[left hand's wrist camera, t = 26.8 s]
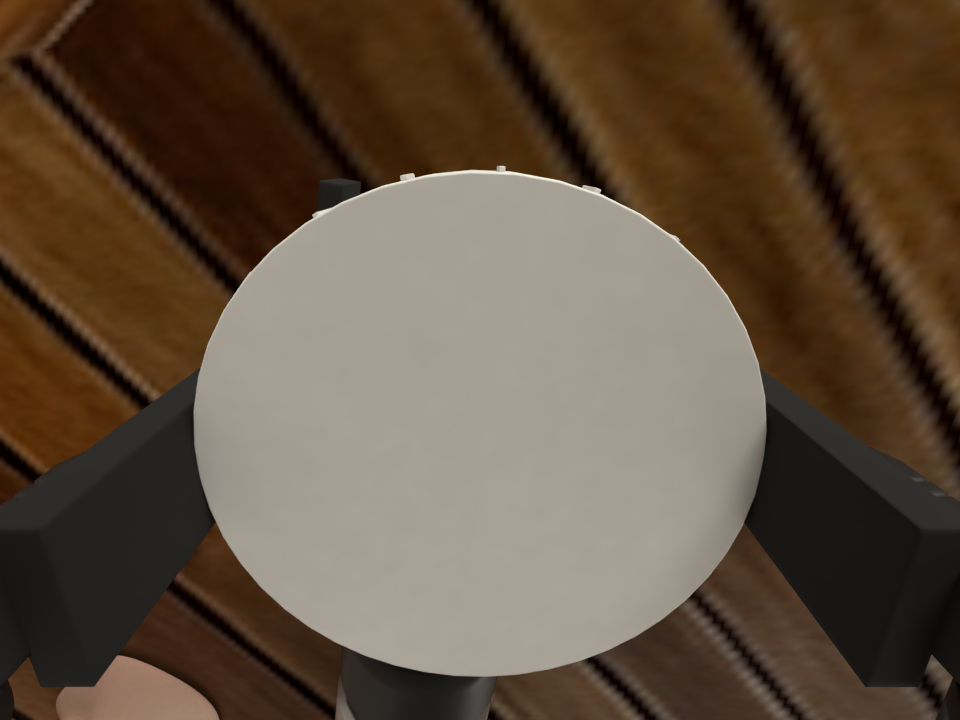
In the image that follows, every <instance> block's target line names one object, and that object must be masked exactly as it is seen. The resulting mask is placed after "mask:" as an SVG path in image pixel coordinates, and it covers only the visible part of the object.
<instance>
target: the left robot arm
mask: <svg viewBox="0 0 960 720" xmlns="http://www.w3.org/2000/svg"><path fill="white" fill-rule="evenodd" d="M200 369H201V368H199V369H198V370H197V371H195V372H194V373H192V374H191V375H190V376H188V377H187V378H186V379H184V380H183V381H181V382H180V383H179V384H177V385H176V386H175V387H173V388H172V389H170V390H169V391H168V392H166V393H165V394H164V395H162V396H161V397H159V398H158V399H157V400H155V401H154V402H153V403H151V404H150V405H148V406H147V407H146V408H144V409H143V410H142V411H140V412H139V413H137V414H136V415H135V416H133V417H132V418H131V419H129V420H128V421H126V422H125V423H124V424H122V425H121V426H120V427H118V428H117V429H115V430H114V431H113V432H111V433H110V434H109V435H107V436H106V437H105V438H103V439H102V440H100V441H99V442H98V443H96V444H95V445H94V446H92V447H91V448H89V449H88V450H87V451H85V452H83V453H81V454H78V455H76V456H74V457H72V458H70V459H68V460H66V461H63V462H61V463H59V464H57V465H56V466H55V467H53V468H52V469H50V470H49V471H48V472H46V473H45V474H43V475H42V476H40V477H39V478H38V479H36V480H35V481H34V484H29V485H28V486H26V487H25V488H24V489H22V490H21V491H19V492H18V493H17V494H15V495H14V499H8V500H7V501H5V502H4V503H2V504H1V505H0V720H11V719H12V713H13V708H14V698H13V692H12V689H11V687H10V684H9V682H8V680H7V679H8V678H9V677H10V676H11V675H12V674H13V673H14V672H15V671H16V670H17V669H18V667H19V666H20V665H21V664H22V663H23V662H24V661H25V660H26V659H27V658H28V657H29V658H30V660H31V663H32V665H33V668H34V670H35V673H36V675H37V678H38V680H39V683H40V686H41V687H94V686H95V685H96V684H97V682H98V681H99V680H100V678H101V677H102V676H103V674H104V673H105V671H106V670H107V669H108V667H109V666H110V665H111V663H112V662H113V661H114V659H115V658H116V657H117V655H118V654H119V652H120V651H121V650H122V648H123V647H124V646H125V644H126V643H127V642H128V640H129V639H130V638H131V636H132V635H133V634H134V632H135V631H136V629H137V628H138V627H139V625H140V624H141V623H142V621H143V620H144V619H145V617H146V616H147V615H148V613H149V612H150V610H151V609H152V608H153V606H154V605H155V604H156V602H157V601H158V600H159V598H160V597H161V596H162V594H163V593H164V591H165V590H166V589H167V587H168V586H169V585H170V583H171V582H172V581H173V579H174V578H175V577H176V575H177V574H178V573H179V571H180V570H181V568H182V567H183V566H184V564H185V563H186V562H187V560H188V559H189V558H190V556H191V555H192V554H193V552H194V551H195V549H196V548H197V547H198V545H199V544H200V543H201V541H202V540H203V539H204V537H205V536H206V535H207V533H208V532H209V531H210V529H211V528H212V526H213V525H214V524H215V522H216V521H215V519H214V517H213V515H212V513H211V511H210V508H209V505H208V502H207V499H206V496H205V493H204V490H203V487H202V484H201V480H200V475H199V470H198V465H197V459H196V453H195V448H194V404H195V397H196V389H197V382H198V376H199V373H200ZM759 369H760V368H759ZM760 374H761V379H762V384H763V389H764V394H765V404H766V427H767V433H766V443H765V452H764V458H763V463H762V468H761V472H760V477H759V481H758V486H757V490H756V494H755V497H754V499H753V502H752V504H751V507H750V509H749V512H748V514H747V516H746V519H745V521H744V523H745V524H746V526H747V527H748V528H749V530H750V531H751V532H752V534H753V535H754V536H755V538H756V539H757V540H758V542H759V543H760V545H761V546H762V547H763V549H764V550H765V551H766V553H767V554H768V555H769V557H770V558H771V559H772V561H773V562H774V563H775V565H776V566H777V568H778V569H779V570H780V572H781V573H782V574H783V576H784V577H785V578H786V580H787V581H788V582H789V584H790V585H791V587H792V588H793V589H794V591H795V592H796V593H797V595H798V596H799V597H800V599H801V600H802V601H803V603H804V604H805V605H806V607H807V608H808V610H809V611H810V612H811V614H812V615H813V616H814V618H815V619H816V620H817V622H818V623H819V624H820V626H821V627H822V629H823V630H824V631H825V633H826V634H827V635H828V637H829V638H830V639H831V641H832V642H833V643H834V645H835V646H836V648H837V649H838V650H839V652H840V653H841V654H842V656H843V657H844V658H845V660H846V661H847V662H848V664H849V665H850V666H851V668H852V669H853V671H854V672H855V673H856V675H857V676H858V677H859V679H860V680H861V681H862V683H863V684H864V685H865V687H919V684H920V682H921V679H922V677H923V674H924V672H925V669H926V667H927V664H928V662H929V659H930V657H931V654H932V655H933V656H934V657H935V658H936V659H937V660H938V661H939V663H940V664H941V665H942V666H943V667H944V668H945V669H946V670H947V671H948V672H949V673H950V674H951V676H952V677H953V680H952V682H951V684H950V687H949V689H948V691H947V694H946V696H945V698H944V701H943V703H942V706H941V708H940V710H939V713H938V715H937V717H936V720H960V502H958V501H957V500H955V499H954V498H953V497H947V495H946V493H945V492H944V491H943V490H941V489H940V488H938V487H937V486H936V485H934V484H933V483H931V482H926V478H924V477H923V476H921V475H920V474H919V473H917V472H916V471H914V470H913V469H911V468H910V467H909V466H907V465H906V464H904V463H903V462H901V461H899V460H897V459H895V458H893V457H890V456H888V455H886V454H884V453H882V452H879V451H877V450H875V449H873V448H871V447H867V446H866V445H865V444H863V443H862V442H861V441H859V440H858V439H857V438H855V437H854V436H852V435H851V434H850V433H848V432H847V431H846V430H844V429H843V428H841V427H840V426H839V425H837V424H836V423H835V422H833V421H832V420H830V419H829V418H828V417H826V416H825V415H824V414H822V413H821V412H819V411H818V410H817V409H815V408H814V407H813V406H811V405H810V404H808V403H807V402H806V401H804V400H803V399H802V398H800V397H799V396H797V395H796V394H795V393H793V392H792V391H791V390H789V389H788V388H786V387H785V386H784V385H782V384H781V383H780V382H778V381H777V380H775V379H774V378H773V377H771V376H770V375H769V374H767V373H766V372H764V371H763V370H762V369H760Z"/></svg>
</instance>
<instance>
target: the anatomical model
mask: <svg viewBox="0 0 960 720" xmlns="http://www.w3.org/2000/svg"><path fill="white" fill-rule="evenodd" d="M56 711H57V714H58V717H59V719H60V720H219V717H218V714H217V712H216V711H215V709H214V707H213V706H212V705H211V703H210V702H209V701H208V700H207V699H206V698H205V697H204V696H203V695H201V694H200V693H199V692H198V691H196V690H195V689H193V688H192V687H191V686H189V685H187V684H186V683H184V682H183V681H181V680H179V679H177V678H176V677H174V676H172V675H170V674H168V673H166V672H164V671H162V670H160V669H158V668H156V667H154V666H152V665H149V664H147V663H144V662H142V661H139V660H136V659H134V658H130V657H126V656H119V655H117V657H116V658H115V659H114V661H113V662H112V663H111V665H110V666H109V667H108V669H107V670H106V671H105V673H104V674H103V676H102V677H101V678H100V680H99V681H98V682H97V684H96V685H95V686H94V687H65V688H64V689H63V690H62V692H61V693H60V694H59V696H58V698H57V701H56Z"/></svg>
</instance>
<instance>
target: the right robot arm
mask: <svg viewBox="0 0 960 720" xmlns="http://www.w3.org/2000/svg"><path fill="white" fill-rule="evenodd" d="M360 186H361V182H357V181H351V180H346V179H330V180H320V181H319V191H318V208H317V212H319V211H322V210H326V209H329V208H333V207H334V206H336V205H338V204H340V203H341V202H344V201H346V200H349V199H351V198H354V197H356V196H359V195H360ZM340 673H341V674H340V677H339V682H338V694H337V705H336V716H335V720H487V716H488V712H489V709H490V702H491V697H492V694H493V691H494V687H495V683H496V679H497V676H490V677H478V676H452V675H444V674H436V673H428V672H422V671H418V670H413V669H409V668H404V667H400V666H395V665H392V664H389V663H386V662H383V661H380V660H377V659H374V658H371V657H368V656H365V655H362V654H360V653H358V652H356V651H353V650H351V649H349V648H347V647H344V646H343V647H342V656H341V668H340Z"/></svg>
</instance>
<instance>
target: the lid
mask: <svg viewBox="0 0 960 720" xmlns="http://www.w3.org/2000/svg"><path fill="white" fill-rule="evenodd" d="M400 179H401V182H397V183H393V184H388V185H384V186H381V187H379V188H376V189H374V190H371V191H369V192H366V193H364V194H361V195H359V196H356V197H354V198H351V199H349V200H346V201H344V202H341V203H340V204H338V205H336V206H334V207H333V208H329V209H326V210H322V211H319V212H316V213H315V214H313V215H312V216H313V218H314V219H312V220H310V221H308V222H307V223H305V224H304V225H302V226H301V227H300V228H299V229H297V230H296V231H295V232H294V233H292V234H291V235H290V236H289V237H287V238H286V239H285V240H283V241H282V242H281V243H280V244H278V245H277V246H276V247H275V248H273V249H272V250H271V251H270V252H269V254H268V255H267V256H266V257H265V258H264V259H263V260H262V261H261V262H260V263H259V264H258V265H257V266H256V267H255V269H254V270H253V271H252V272H250V273H249V274H248V276H247V277H246V278H245V280H244V281H243V283H242V284H241V286H240V287H239V288H238V290H237V291H236V293H235V294H234V296H233V297H232V299H231V300H230V302H229V303H228V305H227V306H226V308H225V309H224V311H223V313H222V315H221V317H220V319H219V321H218V324H217V326H216V328H215V330H214V332H213V334H212V336H211V338H210V340H209V342H208V346H207V349H206V352H205V356H204V359H203V362H202V366H201V369H200V373H199V376H198V382H197V389H196V397H195V404H194V448H195V453H196V459H197V465H198V470H199V475H200V480H201V484H202V487H203V490H204V493H205V496H206V499H207V502H208V505H209V508H210V511H211V513H212V515H213V517H214V519H215V521H216V523H217V525H218V527H219V529H220V531H221V533H222V535H223V537H224V539H225V540H226V542H227V544H228V545H229V547H230V548H231V550H232V551H233V553H234V554H235V556H236V557H237V559H238V560H239V562H240V563H241V565H242V566H243V567H244V568H245V569H246V570H247V572H248V573H249V574H250V575H251V576H252V577H253V579H254V580H255V581H256V582H257V583H258V585H259V586H260V587H261V588H262V589H263V590H264V591H265V592H266V593H268V594H269V595H270V596H271V597H272V598H273V599H274V600H275V601H276V602H277V603H278V604H279V605H280V606H282V607H283V608H284V609H285V610H286V611H288V612H289V613H290V614H292V615H293V616H295V617H296V618H297V619H299V620H300V621H301V622H303V623H304V624H305V625H307V626H308V627H310V628H311V629H313V630H315V631H317V632H318V633H320V634H322V635H323V636H325V637H327V638H329V639H330V640H332V641H334V642H336V643H338V644H340V645H342V646H344V647H347V648H349V649H351V650H353V651H356V652H358V653H360V654H362V655H365V656H368V657H371V658H374V659H377V660H380V661H383V662H386V663H389V664H392V665H395V666H400V667H404V668H409V669H413V670H418V671H422V672H428V673H436V674H444V675H452V676H478V677H490V676H505V675H518V674H524V673H530V672H536V671H542V670H548V669H552V668H556V667H560V666H563V665H567V664H571V663H574V662H578V661H581V660H584V659H586V658H589V657H591V656H594V655H597V654H599V653H602V652H605V651H607V650H609V649H611V648H613V647H615V646H617V645H619V644H621V643H623V642H625V641H627V640H629V639H631V638H633V637H635V636H637V635H638V634H640V633H642V632H643V631H645V630H646V629H648V628H649V627H651V626H652V625H654V624H656V623H657V622H659V621H660V620H662V619H663V618H664V617H666V616H667V615H668V614H669V613H670V612H672V611H673V610H674V609H675V608H677V607H678V606H679V605H680V604H682V603H683V602H684V601H685V600H686V599H687V598H688V597H689V596H690V595H691V594H692V593H693V592H694V591H695V590H696V589H697V588H698V587H699V586H700V585H701V584H702V583H703V582H704V581H705V580H706V579H707V578H708V577H709V575H710V574H711V573H712V571H713V570H714V569H715V568H716V566H717V565H718V564H719V562H720V561H721V560H722V558H723V557H724V556H725V554H726V553H727V552H728V550H729V548H730V547H731V545H732V543H733V541H734V540H735V538H736V536H737V534H738V533H739V531H740V529H741V528H742V526H743V524H744V521H745V519H746V516H747V514H748V512H749V509H750V507H751V504H752V502H753V499H754V497H755V494H756V490H757V486H758V481H759V477H760V472H761V468H762V463H763V458H764V452H765V443H766V433H767V427H766V404H765V394H764V389H763V384H762V379H761V374H760V369H759V364H758V360H757V358H756V355H755V352H754V350H753V347H752V344H751V341H750V339H749V336H748V333H747V331H746V328H745V326H744V325H743V323H742V321H741V319H740V317H739V316H738V314H737V312H736V310H735V308H734V307H733V305H732V303H731V301H730V299H729V298H728V296H727V295H726V293H725V292H724V291H723V289H722V288H721V287H720V286H719V284H718V283H717V282H716V281H715V279H714V278H713V277H712V275H711V274H710V273H709V272H708V270H707V269H706V268H705V266H704V265H703V264H702V263H701V262H700V261H699V260H697V259H696V258H695V257H694V256H693V255H692V254H691V253H690V252H689V251H688V250H687V249H686V248H685V247H684V246H683V245H682V244H681V243H679V241H680V240H679V239H678V238H677V237H676V236H673V235H670V234H668V233H667V232H665V231H664V230H663V229H661V228H660V227H658V226H657V225H655V224H654V223H653V222H651V221H650V220H648V219H647V218H645V217H644V216H642V215H641V214H639V213H637V212H635V211H633V210H631V209H629V208H627V207H625V206H623V205H621V204H619V203H617V202H615V201H613V200H611V199H609V198H607V197H605V196H603V195H601V194H600V192H601V190H600V189H598V188H595V187H590V186H585V185H583V187H582V188H580V187H577V186H574V185H571V184H568V183H565V182H562V181H558V180H553V179H548V178H543V177H537V176H532V175H526V174H521V173H515V172H508V171H505V166H497V171H483V170H467V171H457V172H447V173H437V174H430V175H426V176H421V177H417V178H415V176H414V173H413V174H405V175H401V176H400Z"/></svg>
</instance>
